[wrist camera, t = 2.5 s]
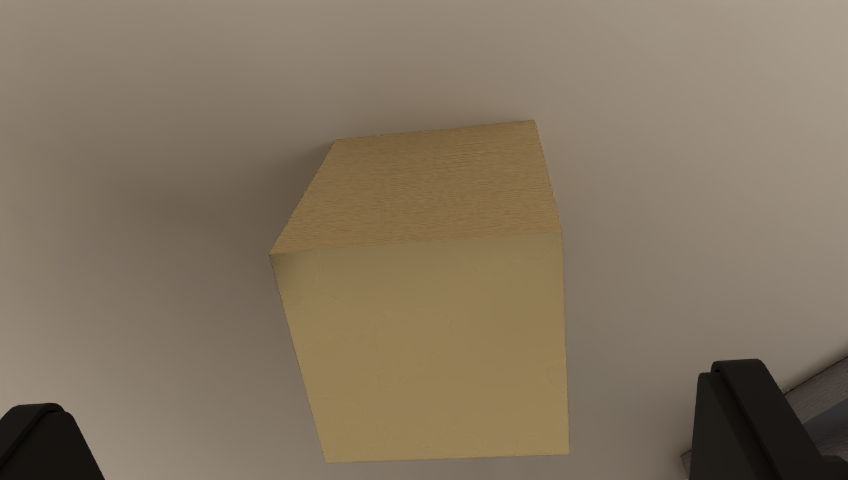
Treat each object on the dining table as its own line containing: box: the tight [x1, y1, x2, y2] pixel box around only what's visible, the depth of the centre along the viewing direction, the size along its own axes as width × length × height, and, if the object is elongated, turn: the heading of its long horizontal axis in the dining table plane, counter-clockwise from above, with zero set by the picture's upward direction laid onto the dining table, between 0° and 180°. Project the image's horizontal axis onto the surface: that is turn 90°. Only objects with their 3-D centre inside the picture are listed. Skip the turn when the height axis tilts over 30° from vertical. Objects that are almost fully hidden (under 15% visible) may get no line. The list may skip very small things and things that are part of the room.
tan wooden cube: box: [269, 120, 569, 463], centre depth 15 cm, size 5×5×6 cm
